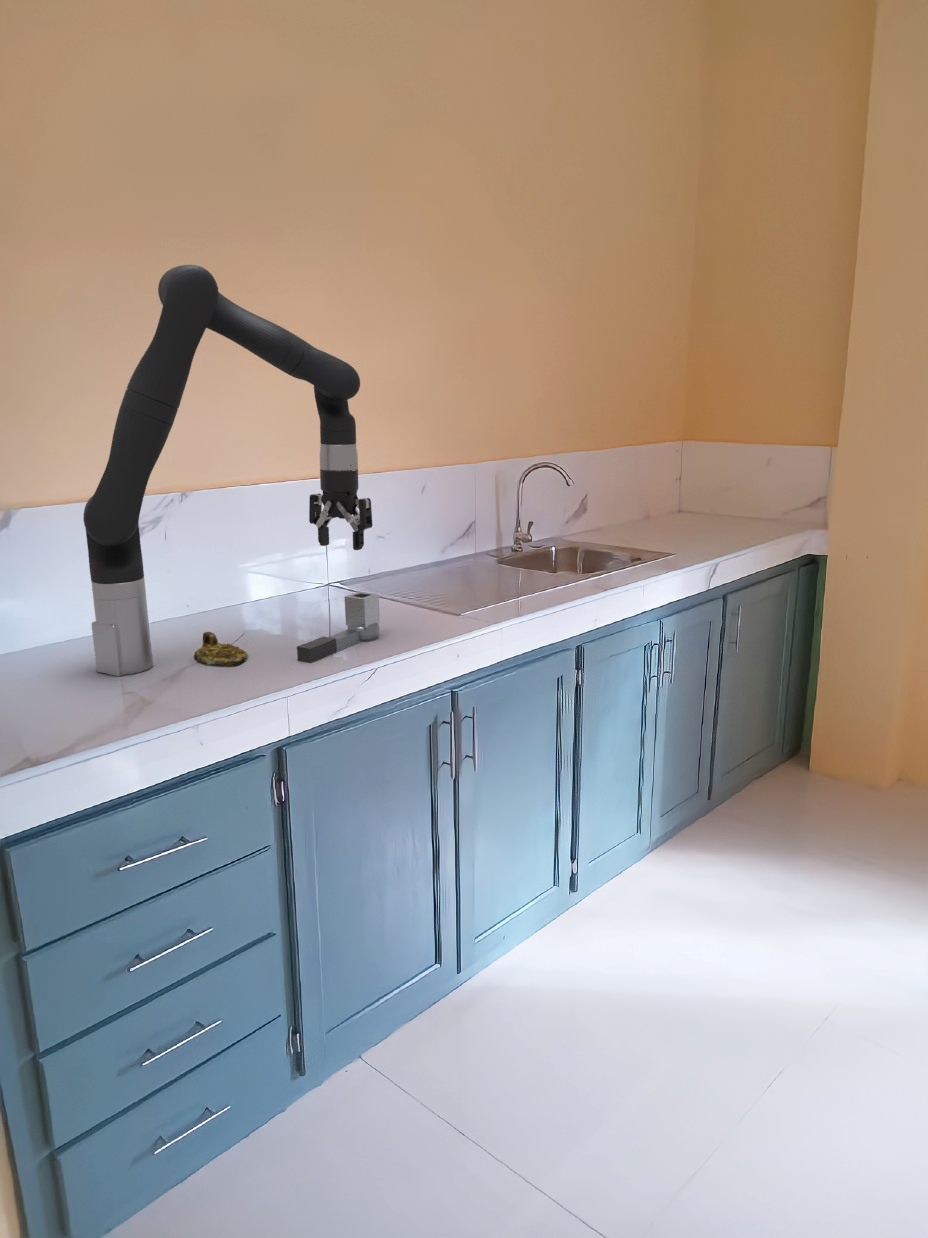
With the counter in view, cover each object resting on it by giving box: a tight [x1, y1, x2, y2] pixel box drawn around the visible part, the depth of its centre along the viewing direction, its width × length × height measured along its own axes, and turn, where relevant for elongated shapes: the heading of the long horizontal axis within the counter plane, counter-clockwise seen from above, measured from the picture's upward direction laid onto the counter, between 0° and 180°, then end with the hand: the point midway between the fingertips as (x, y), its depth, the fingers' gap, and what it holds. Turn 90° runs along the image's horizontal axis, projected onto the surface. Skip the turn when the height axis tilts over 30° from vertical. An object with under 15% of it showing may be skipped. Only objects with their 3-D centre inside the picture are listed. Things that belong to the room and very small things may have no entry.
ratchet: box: [296, 622, 380, 664], centre depth 188 cm, size 22×6×6 cm, turn 149°
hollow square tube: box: [344, 591, 381, 628], centre depth 194 cm, size 5×5×6 cm
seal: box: [193, 631, 249, 668], centre depth 183 cm, size 9×5×15 cm
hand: (341, 547), depth 191 cm, fingers open, 8 cm apart
